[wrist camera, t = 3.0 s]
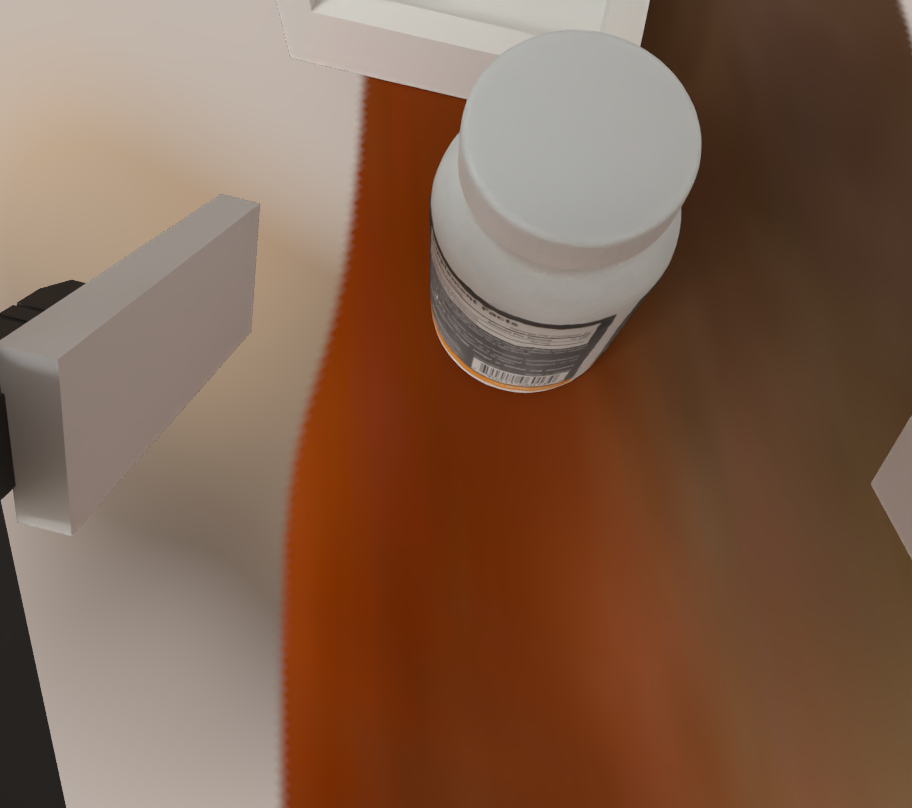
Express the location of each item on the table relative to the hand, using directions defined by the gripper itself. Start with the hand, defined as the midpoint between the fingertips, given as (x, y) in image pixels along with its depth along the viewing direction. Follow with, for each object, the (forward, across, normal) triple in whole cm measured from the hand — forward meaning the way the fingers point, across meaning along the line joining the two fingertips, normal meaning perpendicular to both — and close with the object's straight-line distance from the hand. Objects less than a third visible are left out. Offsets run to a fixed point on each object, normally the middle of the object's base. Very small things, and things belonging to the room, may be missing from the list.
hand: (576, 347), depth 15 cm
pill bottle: (+9, -1, -4) cm, 10 cm away
